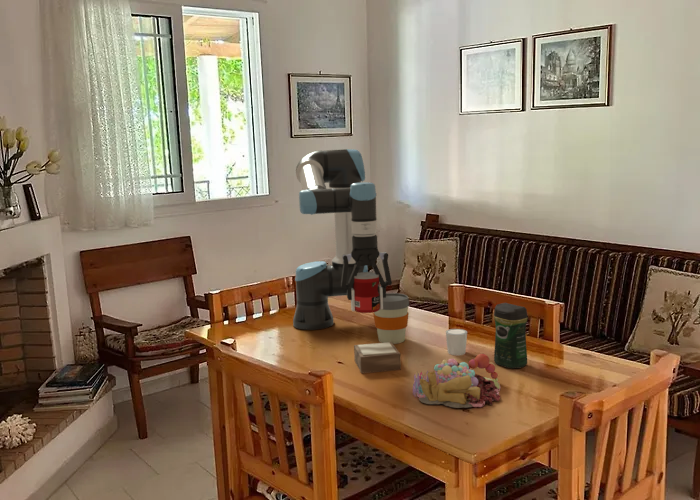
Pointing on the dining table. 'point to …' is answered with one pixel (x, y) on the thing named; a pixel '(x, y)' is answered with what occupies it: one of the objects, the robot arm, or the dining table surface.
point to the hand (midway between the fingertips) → (367, 309)
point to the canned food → (366, 292)
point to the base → (377, 357)
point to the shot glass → (456, 341)
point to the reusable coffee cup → (392, 318)
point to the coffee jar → (510, 335)
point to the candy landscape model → (458, 384)
